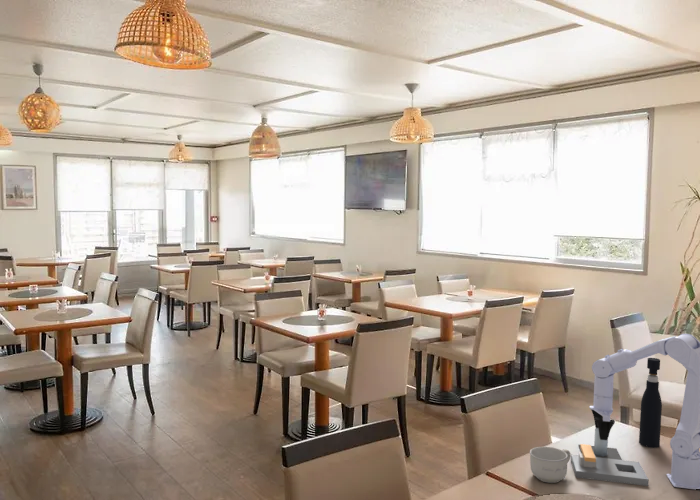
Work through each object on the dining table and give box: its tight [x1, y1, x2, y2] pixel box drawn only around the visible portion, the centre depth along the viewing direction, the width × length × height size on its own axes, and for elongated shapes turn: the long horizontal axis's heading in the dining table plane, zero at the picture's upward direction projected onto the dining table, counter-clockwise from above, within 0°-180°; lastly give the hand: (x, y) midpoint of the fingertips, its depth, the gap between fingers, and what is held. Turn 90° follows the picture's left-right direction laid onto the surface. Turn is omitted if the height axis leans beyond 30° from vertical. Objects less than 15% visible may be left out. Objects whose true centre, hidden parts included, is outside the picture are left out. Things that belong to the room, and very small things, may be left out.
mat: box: [578, 443, 623, 460], centre depth 190 cm, size 12×12×1 cm
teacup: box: [529, 446, 571, 484], centre depth 173 cm, size 14×11×8 cm
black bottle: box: [638, 357, 663, 449], centre depth 198 cm, size 6×6×30 cm
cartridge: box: [593, 427, 609, 456], centre depth 189 cm, size 4×4×8 cm
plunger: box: [579, 443, 596, 462], centre depth 178 cm, size 3×10×4 cm, turn 166°
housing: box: [570, 452, 650, 487], centre depth 177 cm, size 20×12×5 cm, turn 76°
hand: (601, 435), depth 189 cm, fingers open, 7 cm apart
